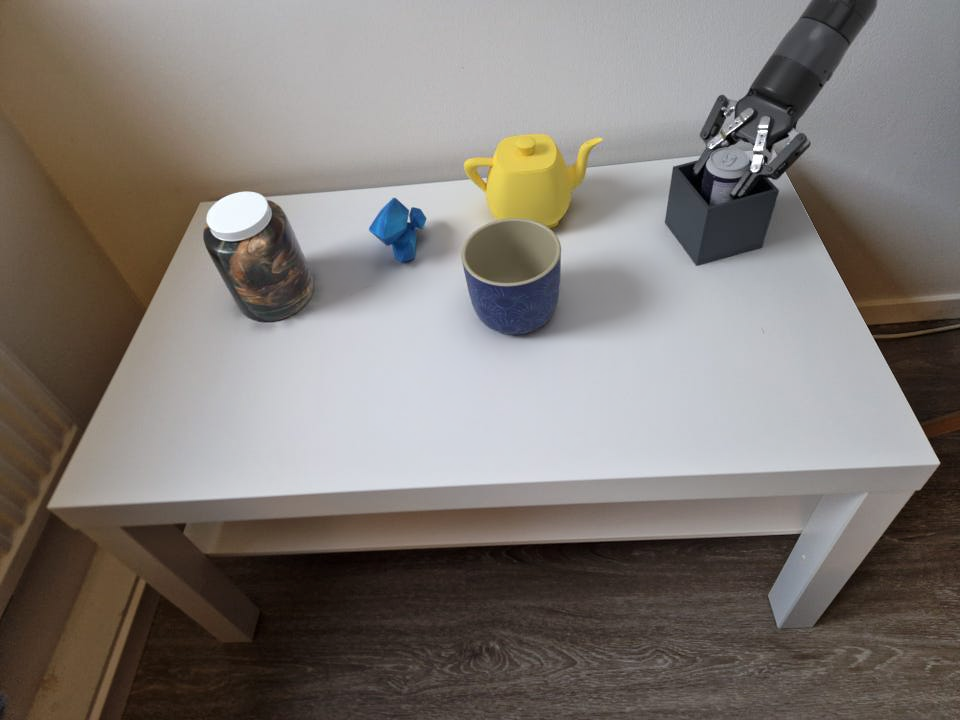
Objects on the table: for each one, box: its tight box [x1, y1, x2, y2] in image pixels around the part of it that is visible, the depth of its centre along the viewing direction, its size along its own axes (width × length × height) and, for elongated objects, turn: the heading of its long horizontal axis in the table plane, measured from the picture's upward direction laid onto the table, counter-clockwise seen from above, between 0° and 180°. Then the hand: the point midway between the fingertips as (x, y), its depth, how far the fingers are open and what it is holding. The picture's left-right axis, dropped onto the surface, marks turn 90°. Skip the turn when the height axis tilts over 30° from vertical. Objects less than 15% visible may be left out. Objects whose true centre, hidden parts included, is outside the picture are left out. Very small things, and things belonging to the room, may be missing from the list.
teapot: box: [463, 133, 603, 229], centre depth 98 cm, size 13×20×12 cm
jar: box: [202, 191, 315, 323], centre depth 92 cm, size 12×12×15 cm
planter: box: [460, 218, 562, 335], centre depth 86 cm, size 12×12×11 cm
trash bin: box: [664, 159, 780, 266], centre depth 92 cm, size 10×10×10 cm
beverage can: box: [700, 146, 751, 206], centre depth 90 cm, size 6×6×12 cm
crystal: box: [368, 197, 427, 263], centre depth 97 cm, size 7×9×12 cm
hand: (715, 187), depth 88 cm, fingers closed on beverage can, 5 cm apart
